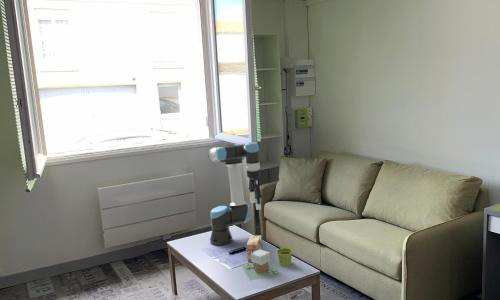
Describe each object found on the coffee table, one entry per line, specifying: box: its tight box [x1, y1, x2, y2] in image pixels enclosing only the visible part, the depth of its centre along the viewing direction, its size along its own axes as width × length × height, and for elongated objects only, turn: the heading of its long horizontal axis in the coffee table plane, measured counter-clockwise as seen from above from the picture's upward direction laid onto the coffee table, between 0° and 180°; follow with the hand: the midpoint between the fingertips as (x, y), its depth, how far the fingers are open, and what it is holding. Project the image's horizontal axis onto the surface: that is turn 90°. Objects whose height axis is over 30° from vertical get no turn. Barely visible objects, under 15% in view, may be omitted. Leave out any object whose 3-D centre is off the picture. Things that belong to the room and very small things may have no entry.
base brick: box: [252, 262, 269, 273], centre depth 234 cm, size 7×7×5 cm
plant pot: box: [275, 247, 294, 267], centre depth 240 cm, size 9×9×9 cm
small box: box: [251, 249, 271, 265], centre depth 234 cm, size 8×8×5 cm
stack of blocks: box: [246, 234, 263, 263], centre depth 255 cm, size 21×6×12 cm, turn 172°
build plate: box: [241, 259, 283, 281], centre depth 235 cm, size 20×18×2 cm
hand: (255, 205), depth 241 cm, fingers open, 13 cm apart
